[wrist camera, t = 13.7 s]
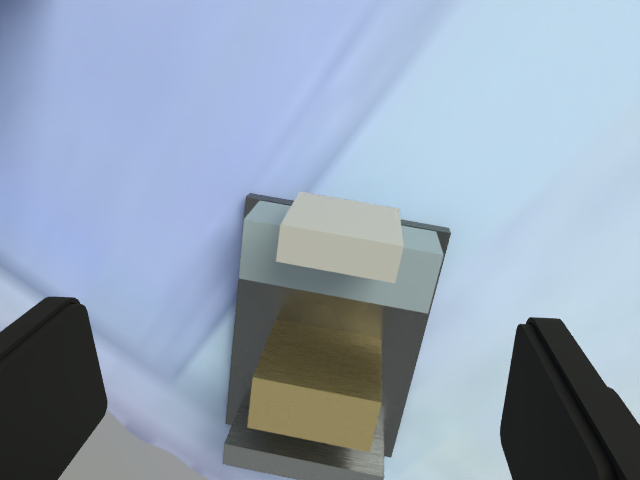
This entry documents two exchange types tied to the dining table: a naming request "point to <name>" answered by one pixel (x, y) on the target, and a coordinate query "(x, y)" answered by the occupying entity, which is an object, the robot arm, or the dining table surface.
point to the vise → (332, 313)
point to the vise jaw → (341, 251)
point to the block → (318, 385)
